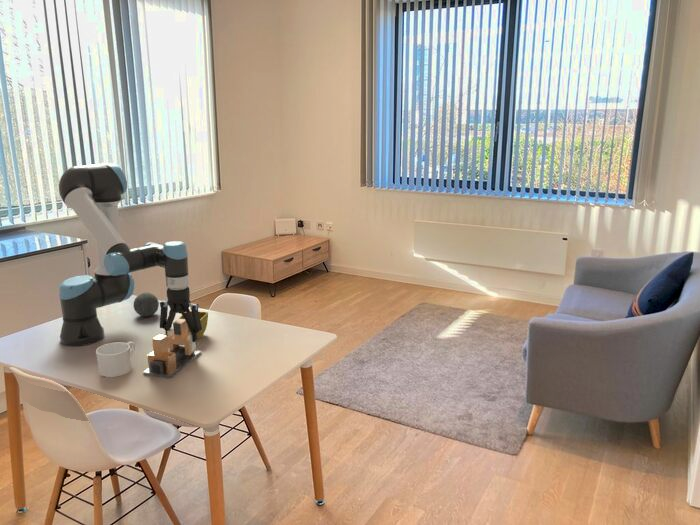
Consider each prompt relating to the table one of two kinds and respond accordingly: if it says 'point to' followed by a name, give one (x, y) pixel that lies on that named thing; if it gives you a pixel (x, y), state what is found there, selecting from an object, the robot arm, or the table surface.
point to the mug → (114, 358)
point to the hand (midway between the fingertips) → (182, 348)
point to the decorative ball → (146, 304)
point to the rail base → (167, 358)
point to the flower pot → (203, 320)
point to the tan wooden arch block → (180, 336)
